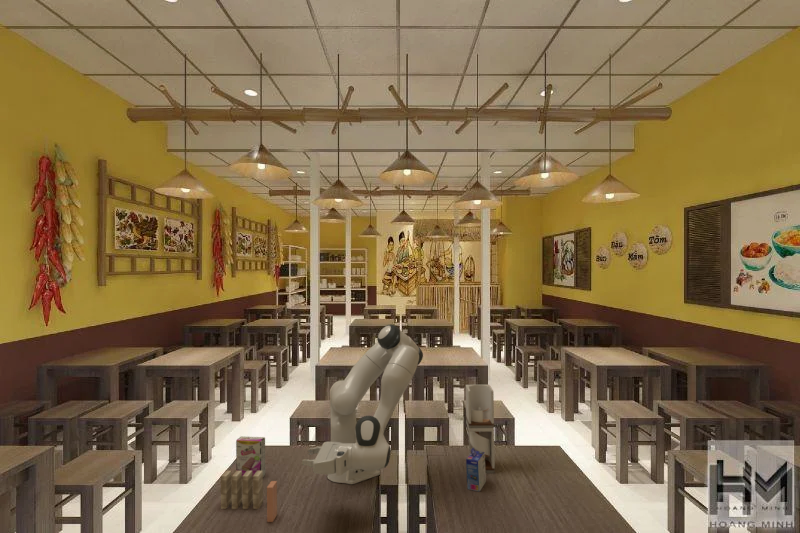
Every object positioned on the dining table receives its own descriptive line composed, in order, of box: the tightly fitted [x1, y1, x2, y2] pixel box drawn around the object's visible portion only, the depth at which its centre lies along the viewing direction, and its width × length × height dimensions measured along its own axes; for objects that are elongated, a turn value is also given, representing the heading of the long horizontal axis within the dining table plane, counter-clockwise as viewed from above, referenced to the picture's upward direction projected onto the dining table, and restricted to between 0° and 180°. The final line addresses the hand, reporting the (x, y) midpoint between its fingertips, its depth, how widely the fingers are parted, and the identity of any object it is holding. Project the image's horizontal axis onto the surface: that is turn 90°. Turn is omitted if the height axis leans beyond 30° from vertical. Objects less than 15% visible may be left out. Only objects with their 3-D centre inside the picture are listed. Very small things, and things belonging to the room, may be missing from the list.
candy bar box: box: [235, 435, 266, 480], centre depth 203 cm, size 11×5×16 cm, turn 84°
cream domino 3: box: [242, 471, 253, 510], centre depth 178 cm, size 2×5×12 cm, turn 178°
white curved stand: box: [465, 384, 496, 474], centre depth 209 cm, size 11×11×35 cm
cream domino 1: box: [220, 470, 232, 510], centre depth 179 cm, size 2×5×12 cm, turn 178°
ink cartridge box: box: [465, 448, 487, 492], centre depth 192 cm, size 10×6×14 cm, turn 155°
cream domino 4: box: [252, 471, 264, 510], centre depth 178 cm, size 2×5×12 cm, turn 178°
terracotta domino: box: [266, 480, 278, 523], centre depth 169 cm, size 2×5×12 cm, turn 178°
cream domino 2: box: [231, 470, 243, 510], centre depth 179 cm, size 2×5×12 cm, turn 178°
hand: (305, 456), depth 169 cm, fingers open, 8 cm apart
